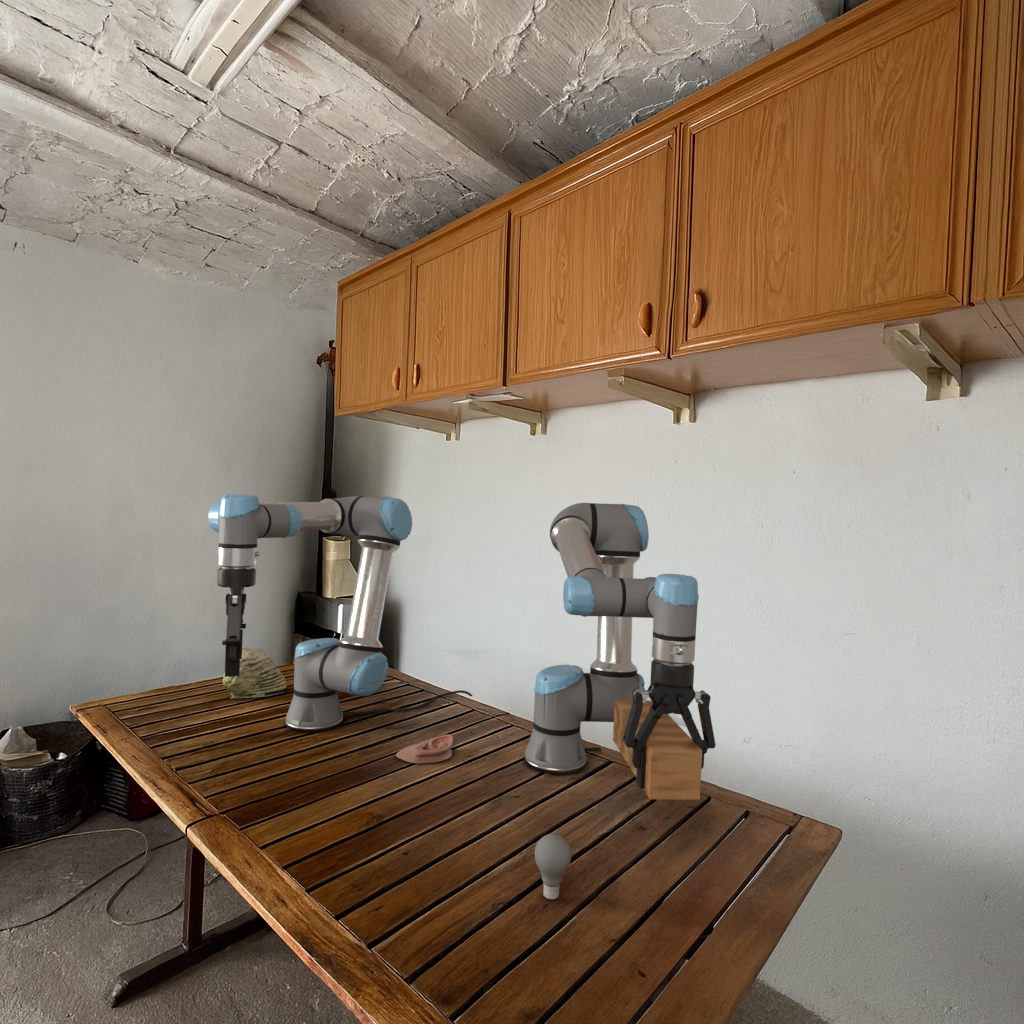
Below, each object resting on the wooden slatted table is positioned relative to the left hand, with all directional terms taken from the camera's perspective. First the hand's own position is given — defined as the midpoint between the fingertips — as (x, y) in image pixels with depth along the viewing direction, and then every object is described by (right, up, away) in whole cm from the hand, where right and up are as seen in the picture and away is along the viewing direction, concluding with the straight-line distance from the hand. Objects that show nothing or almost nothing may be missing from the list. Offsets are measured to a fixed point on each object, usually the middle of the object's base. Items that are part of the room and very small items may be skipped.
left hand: (233, 667), depth 134 cm
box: (+86, -17, -11) cm, 89 cm away
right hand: (+87, -16, -20) cm, 91 cm away
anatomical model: (+37, -28, +23) cm, 52 cm away
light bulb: (+65, -30, -31) cm, 78 cm away
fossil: (-22, -24, +64) cm, 72 cm away
